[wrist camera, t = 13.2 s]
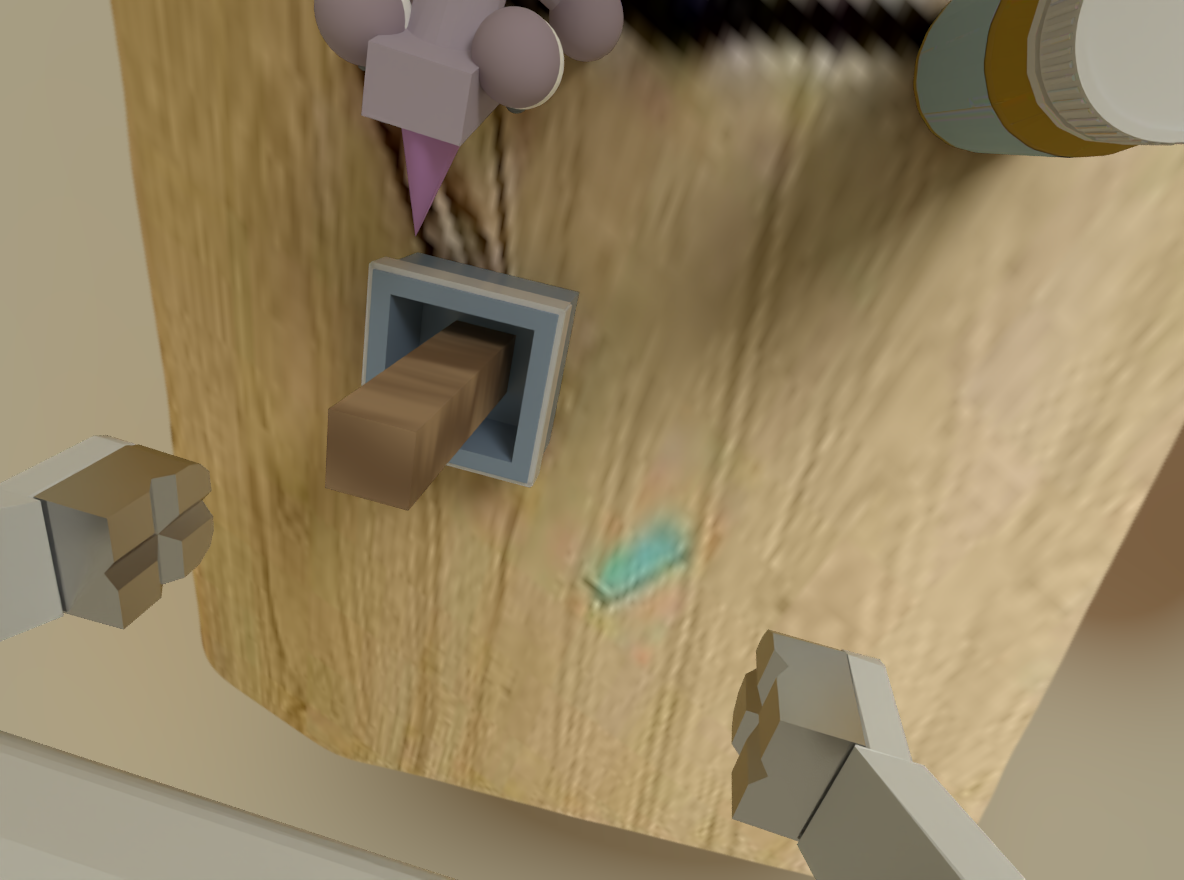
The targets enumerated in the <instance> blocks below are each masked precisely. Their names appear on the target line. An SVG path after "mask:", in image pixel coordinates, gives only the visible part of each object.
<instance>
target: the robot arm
mask: <svg viewBox="0 0 1184 880" xmlns="http://www.w3.org/2000/svg"><path fill="white" fill-rule="evenodd" d="M210 492H211V483H210V474H209V471H208V470H207V469H206V468H205V467H204V466H202V465H201V464H199V463H196V462H193V461H189V460H186V459H183V458H180V457H177V456H174V455H170V454H167V453H164V452H161V451H158V450H155V449H151V448H148V447H145V446H142V445H136V444H134V443H131V442H127V441H124V440H121V439H118V438H115V437H111V436H108V435H103V436H102V435H99V436H92V437H90V438H88V439H86V440H84V441H82V442H80V443H78V444H76V445H74V446H72V447H70V448H68V449H66V450H64V451H62V452H60V453H58V454H57V455H54V456H52V457H51V458H48V459H46V460H44V461H42V462H40V463H39V464H36V465H35V466H32V467H30V468H29V469H27V470H25V471H23V472H21V473H19V474H17V475H15V476H13V477H11V478H9V479H7V480H5V481H3V482H1V483H0V641H2V640H5V639H7V638H10V637H13V636H15V635H17V634H20V633H23V632H25V631H28V630H30V629H32V628H35V627H37V626H40V625H42V624H45V623H47V622H50V621H52V620H55V619H57V618H60V617H62V616H63V613H67V614H70V615H74V616H77V617H81V618H84V619H88V620H92V621H95V622H99V623H102V624H106V625H110V626H113V627H117V628H120V629H125V628H126V627H127V626H128V625H130V624H131V623H132V622H133V621H134V620H135V619H137V618H138V617H139V616H140V615H141V614H142V613H144V612H145V611H146V610H147V609H148V608H150V606H152V605H153V604H154V603H155V602H157V601H158V600H159V599H160V598H161V595H162V586H163V584H166V583H169V582H172V581H175V580H178V579H181V578H184V577H186V576H187V575H188V574H189V573H190V572H191V571H192V570H193V569H195V568H196V567H197V566H198V565H199V564H200V562H201V561H202V559H203V557H204V556H205V554H206V552H207V550H208V549H209V547H210V544H211V540H212V535H213V531H214V529H213V516H212V514H211V513H210V511H209V510H208V508H207V507H206V505H205V504H204V502H203V501H202V500H203V499H204V498H205V497H206V496H207V495H208V494H209V493H210ZM756 664H757V668H756V669H755V670H753V671H751V672H749V673H747V674H746V675H745V677H744V680H743V682H742V685H741V687H740V690H739V692H738V696H737V700H736V704H735V708H734V713H733V722H732V745H733V746H734V748H735V749H736V751H737V752H738V754H739V757H738V759H737V762H736V764H735V766H734V768H733V770H732V819H734V820H737V821H740V822H743V823H746V824H749V825H752V826H755V827H758V828H761V829H764V830H767V831H770V832H772V833H775V834H778V835H781V836H784V837H787V838H790V839H793V840H796V841H799V842H798V844H797V845H798V847H799V849H800V851H801V853H802V855H803V857H804V858H805V860H806V862H807V864H808V866H809V868H810V870H811V872H812V874H813V876H814V877H815V879H816V880H1026V879H1025V878H1024V877H1023V876H1022V875H1021V873H1020V872H1019V871H1018V870H1017V869H1016V868H1015V867H1014V866H1013V864H1012V863H1011V862H1010V861H1009V860H1008V859H1007V858H1006V857H1005V856H1004V854H1003V853H1002V852H1001V851H1000V850H999V849H998V848H997V846H996V845H995V844H994V843H993V842H992V841H991V840H990V839H989V838H988V836H987V835H986V834H985V833H984V832H983V831H982V830H981V829H980V827H979V826H978V825H977V824H976V823H975V822H974V821H973V820H972V818H971V817H970V816H969V815H968V814H967V813H966V812H965V811H964V809H963V808H962V807H961V806H960V805H959V804H958V803H957V802H956V800H955V799H954V798H953V797H952V796H951V795H950V794H949V793H948V791H947V790H946V789H945V788H944V787H943V786H942V785H941V784H940V782H939V781H938V780H937V779H936V778H935V777H934V776H933V775H932V774H931V772H930V771H929V770H928V769H927V768H926V767H925V766H924V765H921V764H918V763H915V762H912V758H911V755H910V751H909V748H908V744H907V741H906V737H905V734H904V730H903V727H902V723H901V720H900V716H899V713H898V709H897V706H896V702H895V699H894V695H893V692H892V688H891V685H890V681H889V678H888V674H887V671H886V667H885V665H884V664H883V663H882V661H881V660H880V659H877V658H873V657H869V656H865V655H862V654H858V653H854V652H850V651H847V650H843V649H842V650H838V649H835V648H832V647H828V646H825V645H821V644H818V643H814V642H811V641H807V640H804V639H800V638H797V637H793V636H790V635H786V634H783V633H779V632H776V631H772V630H769V629H768V630H767V631H766V633H765V634H764V635H763V637H762V639H761V641H760V643H759V645H758V647H757V650H756ZM0 880H456V879H453V878H450V877H447V876H444V875H441V874H438V873H435V872H432V871H429V870H425V869H423V868H420V867H416V866H413V865H410V864H407V863H404V862H401V861H398V860H395V859H391V858H388V857H386V856H382V855H379V854H376V853H373V852H370V851H367V850H364V849H361V848H358V847H355V846H352V845H349V844H346V843H343V842H340V841H336V840H334V839H331V838H328V837H325V836H321V835H318V834H315V833H312V832H309V831H306V830H303V829H300V828H297V827H294V826H291V825H288V824H284V823H282V822H279V821H276V820H272V819H269V818H267V817H263V816H260V815H257V814H254V813H251V812H248V811H245V810H242V809H239V808H236V807H233V806H230V805H227V804H224V803H221V802H218V801H215V800H212V799H209V798H205V797H202V796H199V795H196V794H193V793H190V792H187V791H184V790H181V789H178V788H175V787H172V786H169V785H166V784H162V783H160V782H156V781H154V780H151V779H147V778H144V777H141V776H138V775H135V774H132V773H129V772H126V771H123V770H120V769H117V768H114V767H111V766H107V765H105V764H102V763H99V762H96V761H92V760H89V759H86V758H83V757H80V756H77V755H74V754H71V753H68V752H65V751H62V750H59V749H56V748H52V747H50V746H47V745H43V744H40V743H37V742H34V741H31V740H28V739H25V738H22V737H19V736H16V735H13V734H10V733H7V732H3V731H0Z"/></svg>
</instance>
